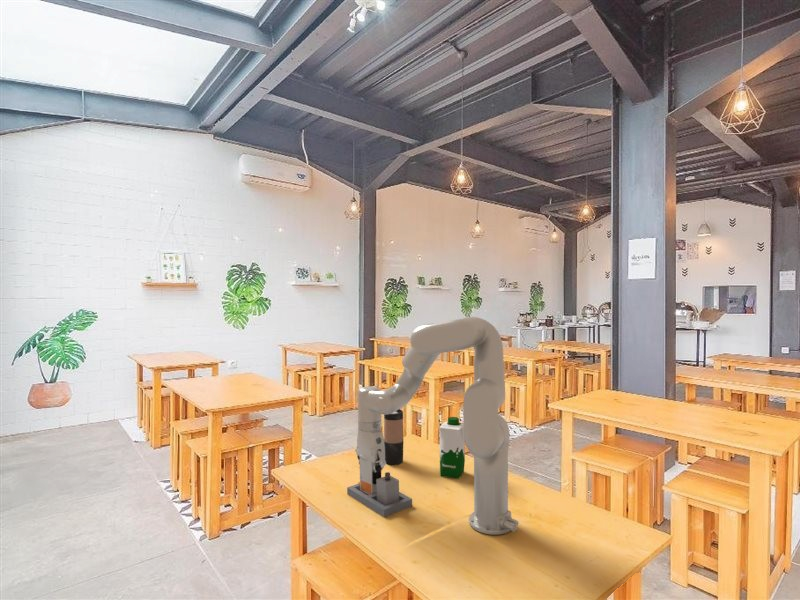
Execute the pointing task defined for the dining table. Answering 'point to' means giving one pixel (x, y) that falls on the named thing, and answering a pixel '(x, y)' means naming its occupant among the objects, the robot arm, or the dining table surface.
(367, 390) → the robot arm
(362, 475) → the skincare box
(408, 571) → the dining table surface
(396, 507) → the pdu strip
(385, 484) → the single plug
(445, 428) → the milk carton
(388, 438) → the travel mug
